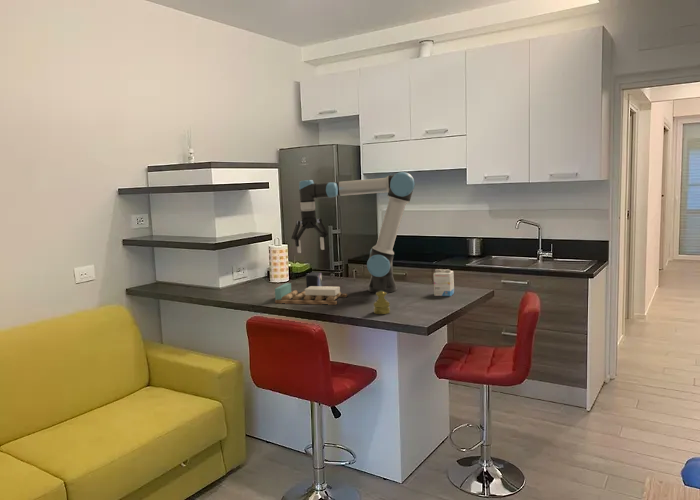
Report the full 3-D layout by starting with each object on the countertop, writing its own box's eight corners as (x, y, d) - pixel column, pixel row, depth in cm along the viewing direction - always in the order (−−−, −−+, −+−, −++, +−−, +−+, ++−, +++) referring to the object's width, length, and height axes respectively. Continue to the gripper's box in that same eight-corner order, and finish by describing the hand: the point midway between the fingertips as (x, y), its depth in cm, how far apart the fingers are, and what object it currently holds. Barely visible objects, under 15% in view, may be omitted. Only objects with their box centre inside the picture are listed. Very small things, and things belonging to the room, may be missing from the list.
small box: (318, 294, 296) (317, 275, 295) (306, 294, 297) (305, 275, 296) (322, 290, 306) (322, 271, 305) (311, 290, 308) (310, 271, 306)
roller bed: (347, 296, 288) (346, 290, 287) (335, 304, 270) (335, 298, 269) (290, 295, 297) (289, 289, 296) (275, 303, 279) (275, 296, 278)
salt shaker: (375, 310, 255) (375, 289, 254) (391, 310, 253) (391, 289, 251) (371, 314, 248) (371, 292, 247) (388, 314, 246) (387, 292, 244)
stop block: (291, 296, 294) (290, 283, 293) (281, 302, 281) (280, 288, 280) (286, 296, 295) (285, 283, 294) (275, 302, 281) (274, 288, 281)
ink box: (454, 293, 285) (454, 267, 283) (450, 296, 277) (449, 270, 275) (438, 292, 288) (437, 267, 286) (433, 295, 281) (433, 269, 279)
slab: (339, 292, 283) (339, 286, 282) (335, 295, 275) (334, 289, 275) (310, 291, 287) (310, 286, 287) (305, 295, 280) (304, 289, 279)
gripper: (325, 208, 295) (328, 247, 297) (283, 212, 282) (286, 253, 285) (332, 208, 288) (335, 248, 291) (289, 212, 275) (292, 254, 278)
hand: (311, 251), depth 288 cm, fingers open, 13 cm apart
